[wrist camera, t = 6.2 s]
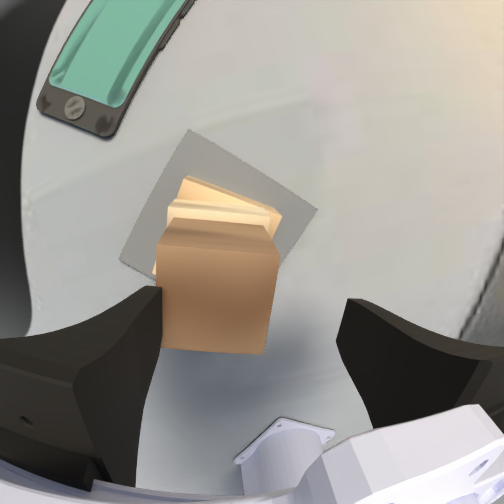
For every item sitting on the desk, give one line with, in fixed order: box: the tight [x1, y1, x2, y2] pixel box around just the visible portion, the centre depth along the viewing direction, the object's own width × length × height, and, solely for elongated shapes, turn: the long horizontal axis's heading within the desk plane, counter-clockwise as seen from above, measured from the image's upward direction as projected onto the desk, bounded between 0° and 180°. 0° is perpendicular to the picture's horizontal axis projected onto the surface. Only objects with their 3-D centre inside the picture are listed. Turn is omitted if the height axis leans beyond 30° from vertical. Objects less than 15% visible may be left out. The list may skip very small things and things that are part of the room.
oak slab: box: [152, 175, 282, 275], centre depth 19 cm, size 6×6×2 cm
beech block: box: [167, 199, 270, 233], centre depth 17 cm, size 5×5×2 cm
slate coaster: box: [119, 129, 318, 280], centre depth 20 cm, size 10×10×1 cm
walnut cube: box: [156, 217, 281, 354], centre depth 13 cm, size 4×4×4 cm
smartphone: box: [36, 0, 195, 137], centre depth 15 cm, size 7×1×15 cm
